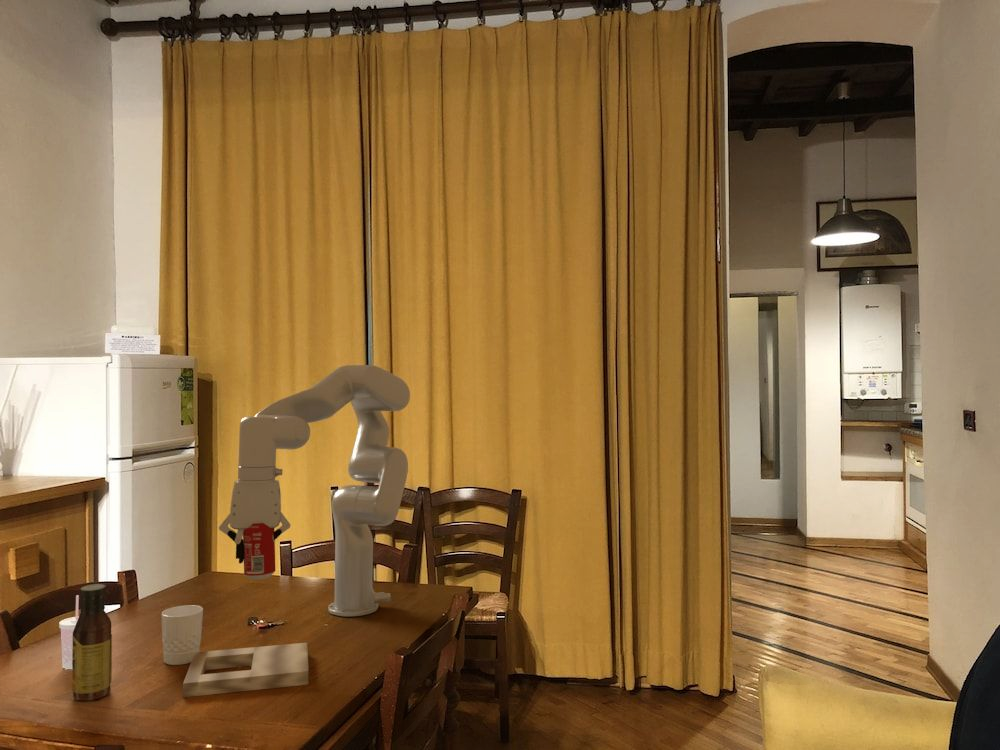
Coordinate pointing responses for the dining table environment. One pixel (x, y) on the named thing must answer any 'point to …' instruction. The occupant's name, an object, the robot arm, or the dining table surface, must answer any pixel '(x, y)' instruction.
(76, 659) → the sauce bottle
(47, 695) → the dining table surface
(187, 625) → the white cup
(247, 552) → the beverage can
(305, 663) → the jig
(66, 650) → the beverage cup
